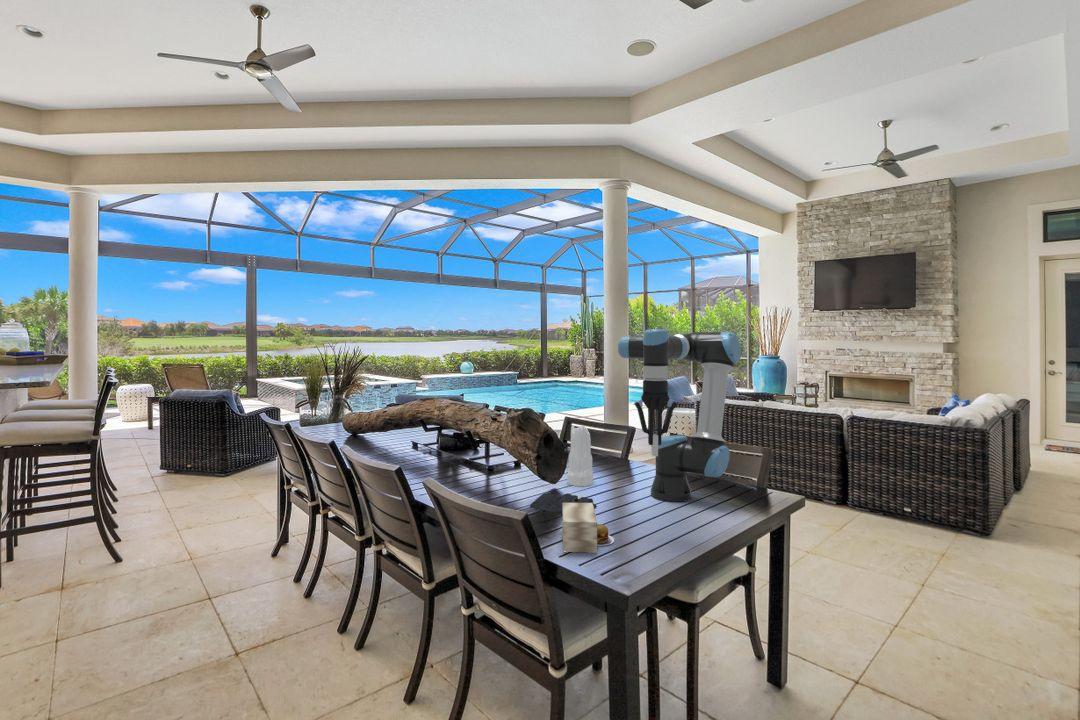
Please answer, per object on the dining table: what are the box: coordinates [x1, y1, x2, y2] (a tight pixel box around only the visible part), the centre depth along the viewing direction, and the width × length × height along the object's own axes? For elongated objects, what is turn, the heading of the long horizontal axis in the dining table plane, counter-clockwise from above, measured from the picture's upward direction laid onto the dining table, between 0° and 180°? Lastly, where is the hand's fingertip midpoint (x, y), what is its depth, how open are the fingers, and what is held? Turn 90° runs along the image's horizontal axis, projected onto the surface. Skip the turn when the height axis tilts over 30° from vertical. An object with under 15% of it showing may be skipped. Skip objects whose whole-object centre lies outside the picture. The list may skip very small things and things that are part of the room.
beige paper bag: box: [561, 502, 598, 554], centre depth 151 cm, size 10×17×9 cm, turn 178°
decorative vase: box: [567, 424, 594, 487], centre depth 213 cm, size 11×11×25 cm
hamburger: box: [597, 523, 615, 547], centre depth 152 cm, size 12×12×6 cm
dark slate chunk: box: [529, 492, 597, 516], centre depth 182 cm, size 15×22×5 cm
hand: (654, 455), depth 157 cm, fingers closed
